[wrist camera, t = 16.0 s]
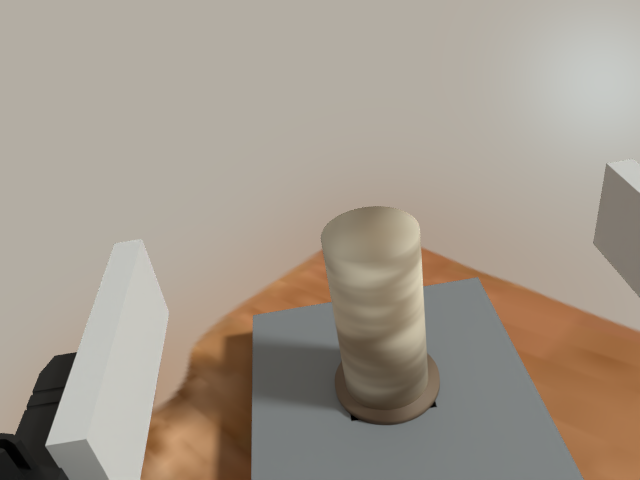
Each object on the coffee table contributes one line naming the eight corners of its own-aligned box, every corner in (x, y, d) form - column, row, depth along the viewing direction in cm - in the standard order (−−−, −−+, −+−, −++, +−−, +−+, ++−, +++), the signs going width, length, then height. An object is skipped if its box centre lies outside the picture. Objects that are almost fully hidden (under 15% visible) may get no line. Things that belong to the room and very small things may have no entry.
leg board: (260, 562, 36) (250, 535, 35) (259, 340, 53) (253, 315, 51) (578, 508, 36) (584, 480, 35) (477, 303, 53) (477, 277, 51)
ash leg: (346, 458, 41) (313, 280, 32) (334, 378, 48) (304, 211, 39) (453, 440, 41) (448, 257, 32) (427, 362, 48) (417, 191, 39)
